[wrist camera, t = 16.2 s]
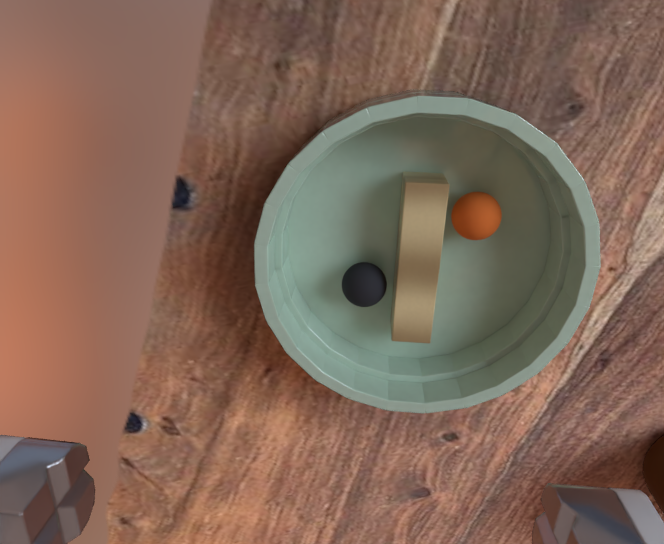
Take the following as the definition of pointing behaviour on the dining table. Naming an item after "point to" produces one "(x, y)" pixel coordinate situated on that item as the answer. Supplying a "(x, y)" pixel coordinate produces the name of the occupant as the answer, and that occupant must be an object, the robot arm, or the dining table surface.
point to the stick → (418, 255)
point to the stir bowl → (456, 257)
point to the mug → (655, 471)
